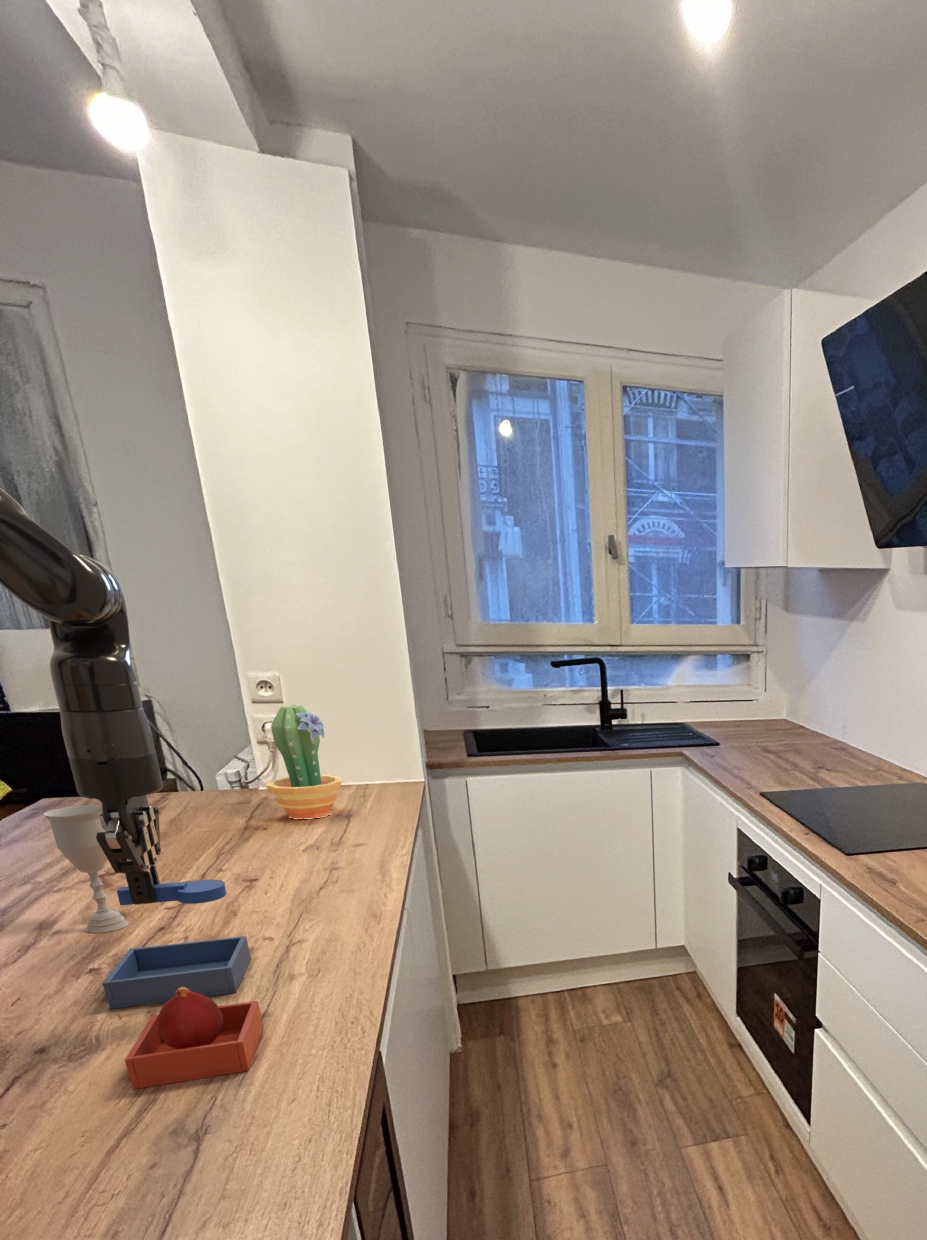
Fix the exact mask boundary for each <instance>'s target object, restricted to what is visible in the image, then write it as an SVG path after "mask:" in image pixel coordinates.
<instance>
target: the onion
mask: <svg viewBox="0 0 927 1240" xmlns="http://www.w3.org/2000/svg"><path fill="white" fill-rule="evenodd" d="M174 993H175V994H176V996H174V997H173V998H171V999H170V1000H169V1001H168V1002H165V1004H164V1005H163V1006H162V1007H161V1009H160V1010H159V1013H158V1015H159V1016H158V1019H157V1031H158V1034H159V1036H160V1038H161V1039H162V1040H163V1041H164V1042H165V1043H166V1044H167V1045H168V1046H170V1047H173V1048H176V1049H185V1048H191V1047H198V1046H204V1045H210V1044H211V1043H212V1042H214V1040H215V1039H216V1038H217V1037H218V1036H219V1034H220V1031H221V1029H222V1026H223V1015H222V1013H221V1010H220V1009H219V1007H218V1006H219V1005H218V1004H217V1003H216V1002H215V1001H214V1000H213V999H212V998H210V997H209V996H204V995H202V994H199V993H196V992H192V991H190V990H189V989H187V988H184V987H181V988H179V989H177V991H176V992H174Z"/></svg>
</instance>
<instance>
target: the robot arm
mask: <svg viewBox="0 0 927 1240" xmlns="http://www.w3.org/2000/svg"><path fill="white" fill-rule="evenodd" d="M0 585H1V586H2V587H3V588H4V589H5V590H7V592H9V593H10V594H12V595H13V596H14V597H15V598H16V599H18V600H19V601H20V602H22V604H24V605H26V606H27V607H28V608H29V609H31V610H32V611H34V612H35V613H37V614H39V615H41V616H42V617H44V618H46V619H47V621H48V626H49V631H50V635H51V640H52V645H53V653H52V654H51V657H50V660H49V672H50V677H51V682H52V686H53V691H54V694H55V699H56V702H57V706H58V709H59V715H60V724H61V732H62V737H63V741H64V746H65V750H66V752H67V757H68V761H69V764H70V769H71V772H72V777H73V780H74V784H75V789H76V792H77V794H78V795H79V796H80V797H82V798H85V799H88V800H89V799H90V800H92V799H95V800H97V801H99V802H100V803H101V805H102V813H101V814H100V820H101V825H102V828H103V829H104V830H105V831H106V832H98V833H97V836H96V839H97V841H98V843H99V845H100V847H101V848H102V850H103V852H104V854H105V855H106V857H107V862H108V863H109V864H110V866H111V868H112V870H113V871H114V873H115V874H122V875H125V880H126V882H127V886H128V887H129V891H130V896H131V900H132V902H133V903H134V904H133V905H147V904H154V903H153V902H154V901H155V900H156V899H157V897H156V893H155V887H154V884H161V882H160V878H159V873H158V868H157V865H158V862H159V858H158V856H160V855H161V853H162V848H161V834H160V833H161V832H160V809H159V808H158V806H151V805H150V806H149V801H148V798H147V796H149V795H153V794H156V793H158V792H160V791H161V790H162V789H163V788H164V783H163V779H162V774H161V770H160V765H159V760H158V756H157V755H158V754H157V752H156V748H155V743H154V739H153V732H152V728H151V726H150V723H149V720H148V718H147V715H146V713H145V710H144V709H145V708H144V707H143V701H142V697H141V692H140V688H139V687H140V686H139V682H138V680H137V675H136V671H135V669H134V665H133V662H132V656H131V655H132V653H131V638H130V637H131V636H130V625H129V617H128V610H127V605H126V600H125V596H124V595H125V594H124V591H123V589H122V586H121V584H120V582H119V580H118V578H117V577H116V576H115V574H114V573H113V572H112V571H111V570H110V568H108V567H107V566H106V565H104V564H103V563H102V562H100V561H99V560H97V559H95V558H93V557H90V556H87V555H84V554H80V553H77V552H75V550H72V549H71V548H69V547H68V546H67V545H66V544H65V543H63V542H62V541H60V540H59V539H58V538H56V537H55V536H54V535H53V534H51V533H50V532H48V530H46V529H45V528H43V526H41V525H40V524H38V523H37V522H36V521H34V520H33V519H32V518H31V517H29V516H28V514H27V512H26V510H25V509H24V507H23V506H22V505H21V504H20V503H19V502H18V501H17V500H16V499H14V498H13V496H11V495H10V494H9V493H7V491H5V490H4V489H2V487H0Z"/></svg>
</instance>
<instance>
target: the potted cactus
mask: <svg viewBox="0 0 927 1240" xmlns="http://www.w3.org/2000/svg"><path fill="white" fill-rule="evenodd" d="M324 728H325V724H324V723H323V721H322V720H321V718H320V717H319V716H318V715H317V714H314V713H312V712H310V711H309V710H307V709H306V708H305V707H304V706H303V705H296V704H291V705H290V706H288V705H285V704H284V705H282V706H280V707H279V708H278V710H277V713H276V714H275V716H274V718H273V720H272V722H271V724H270V730H271V734H272V738H273V740H274V745H275V747H276V748H277V750H278V751H279V753H280V755H281V756H282V760H283V762H284V765H285V768H286V771H287V774H288V775H287V776H286V777H279V778H275V779H272V780H269V781H267V782H266V784H265V787H266V789H267V791H268V793H270V794H271V793H272V795H273V797H274V799H275V800H276V802H277V803H278V805H279V806H280V807H281V808H282V809H283V810H284V811H285V812H287V813H288V818H289V817H292V818H303V819H304V818H316V817H321V816H326V815H328V814H331V812H332V810H331V809H332V807H333V806H334V805H335V802H336V801H337V796H338V791H339V789H340V788H342V777H340V776H336V775H332V774H331V775H329V774H328V775H327V774H321V769H320V762H319V747H320V742H321V739H320V736H321V738H323V739H324V738H326V737H325V730H324Z"/></svg>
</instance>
